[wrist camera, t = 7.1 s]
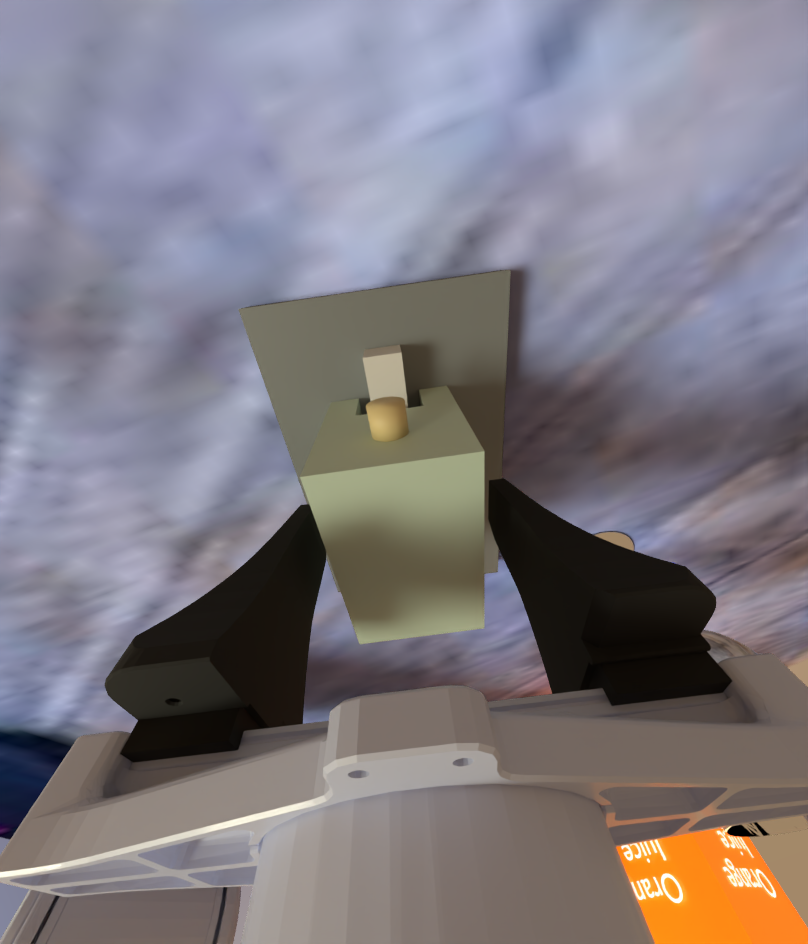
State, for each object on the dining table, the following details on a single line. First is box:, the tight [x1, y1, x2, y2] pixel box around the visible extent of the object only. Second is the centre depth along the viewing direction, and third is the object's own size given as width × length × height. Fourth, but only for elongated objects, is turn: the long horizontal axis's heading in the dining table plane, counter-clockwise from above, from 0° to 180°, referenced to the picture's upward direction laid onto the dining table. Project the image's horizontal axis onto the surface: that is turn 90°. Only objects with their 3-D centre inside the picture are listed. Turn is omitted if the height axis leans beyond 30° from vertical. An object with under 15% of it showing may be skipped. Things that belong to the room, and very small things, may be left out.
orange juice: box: [616, 828, 808, 944], centre depth 24 cm, size 8×9×20 cm
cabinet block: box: [300, 386, 484, 644], centre depth 13 cm, size 9×5×6 cm, turn 7°
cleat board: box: [239, 270, 511, 592], centre depth 16 cm, size 16×10×2 cm, turn 7°
